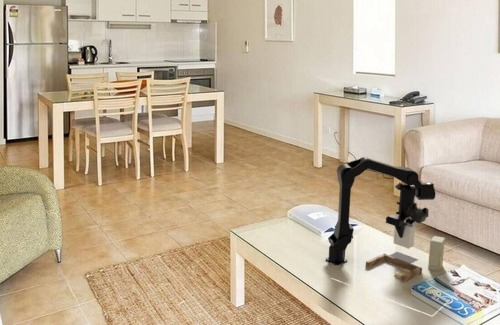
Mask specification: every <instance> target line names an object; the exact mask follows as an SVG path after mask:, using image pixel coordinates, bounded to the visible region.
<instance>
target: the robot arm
mask: <svg viewBox="0 0 500 325" xmlns="http://www.w3.org/2000/svg"><path fill="white" fill-rule="evenodd" d="M366 170H370V171H372V172H373V171H374V172H377V173H380V174H383V175H386V176H389V177H393V178H395V179H397V180H398V181H400V182H399V183H398V184H396V185H394V188H395V189H396V190H398V191H399V199H398V201H396V205H398V210H396V211H395V214H391V215H390V214H389V215H388V216H386V217H385V223H386V224H388V225H392V226H394V229H395V228H396V230H397V232H398V235H399V237H400V238H402V237H403V233H404V228H405V226H406V225H408V224H407V223H409V224H413V225H414V224H415V223H417V224H421V223H423V222H425V221H426V219H427V218H428V217H429V208H427V207H423V208H421V207H418V203H417V202H415V198H417V200H419V201H424V200H425V201H431V200H434V199H435V198H436V195H437V194H436V190H435V186H434V185H435V184H434V183H433V182H421V181H420V180H419V177H420V176H419V173H417V172H416V171H415V170H413V169H412V168H411V167H406V166H395V165H391V164H389V163H385V162H381V161H378V160H376V159H372V158H369V157H368V156H362V157H360V158H358V159H355V160H352V161H348V162H347V163H341V164H339V165H338V166H337V168H336V175H337V181H338V184H339V194H338V196H339V198H338V215H337V222H336V224H335V227H334V229H333V230H334V231H333V233H332V234H331V235H329V237H327V239H328V242H329V244H330V246H329V247H328V257H326V258H325V261H327V262H329V263H331V264H333V265H336V266H340V265H342V264H344V263H346V262H348V259H347V258H346V250H347V248H348V245H349V244H352V243H351V242H352V240H353V239H354V230H355V229H354V227H353V226H352V224H351V223H350V209H351V193H352V191H351V190H352V187H353V186H354V183H355V179H356V177H358V176H361V175H362V174H363V173H364V172H366ZM402 183H404V184H402ZM405 222H406V223H405Z"/></svg>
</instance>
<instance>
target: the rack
mask: <svg viewBox="0 0 500 325" xmlns="http://www.w3.org/2000/svg"><path fill="white" fill-rule="evenodd" d="M389 255H390V254H386V253H383V254H380V255H378V256H376V257H373V258H370V259H369V260H366V261H365V268H368V269H369V268H371V267H373V266H375V265H377V264H379V263H382V262H385V261H386V262H388V263H391V264H393V265H396V266H398V267H401V268H404V269H406V270H409V271H410V272H408V273H406V274H404V275H402V276H401V279H400V283H401V282H402V283H406V282H408V281H410V280H411V279H414V278H416V277H417V276H419V275H421V274H422V273H423V267H420V266H418V265H415V264H413V263H411V264H410V263H408V262H405V261H403V260H400V259H397V258H395V257H392V256H389Z"/></svg>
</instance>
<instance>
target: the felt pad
mask: <svg viewBox="0 0 500 325" xmlns="http://www.w3.org/2000/svg"><path fill="white" fill-rule="evenodd" d="M388 255H389V256H392V257H395V258H397V259H400V260H403V261H405V262H408V263H410V264H413V263H414V262H417V261H419V259H418V258H415V257H413V256H410V255H407V254H404V253H401V252H399V251H395V252H394V253H391V254H388Z"/></svg>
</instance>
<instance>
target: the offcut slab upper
mask: <svg viewBox="0 0 500 325" xmlns="http://www.w3.org/2000/svg"><path fill="white" fill-rule="evenodd" d="M410 271H411V270H408V269H406V268H403V267H401V269H399V270H397V271H395V272H394V275H395V276H394V277H396V276H397V277H396V278H398V277H400V278H401V276H402V275H404V274H406V273H408V272H410ZM400 278H399V279H400Z"/></svg>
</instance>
